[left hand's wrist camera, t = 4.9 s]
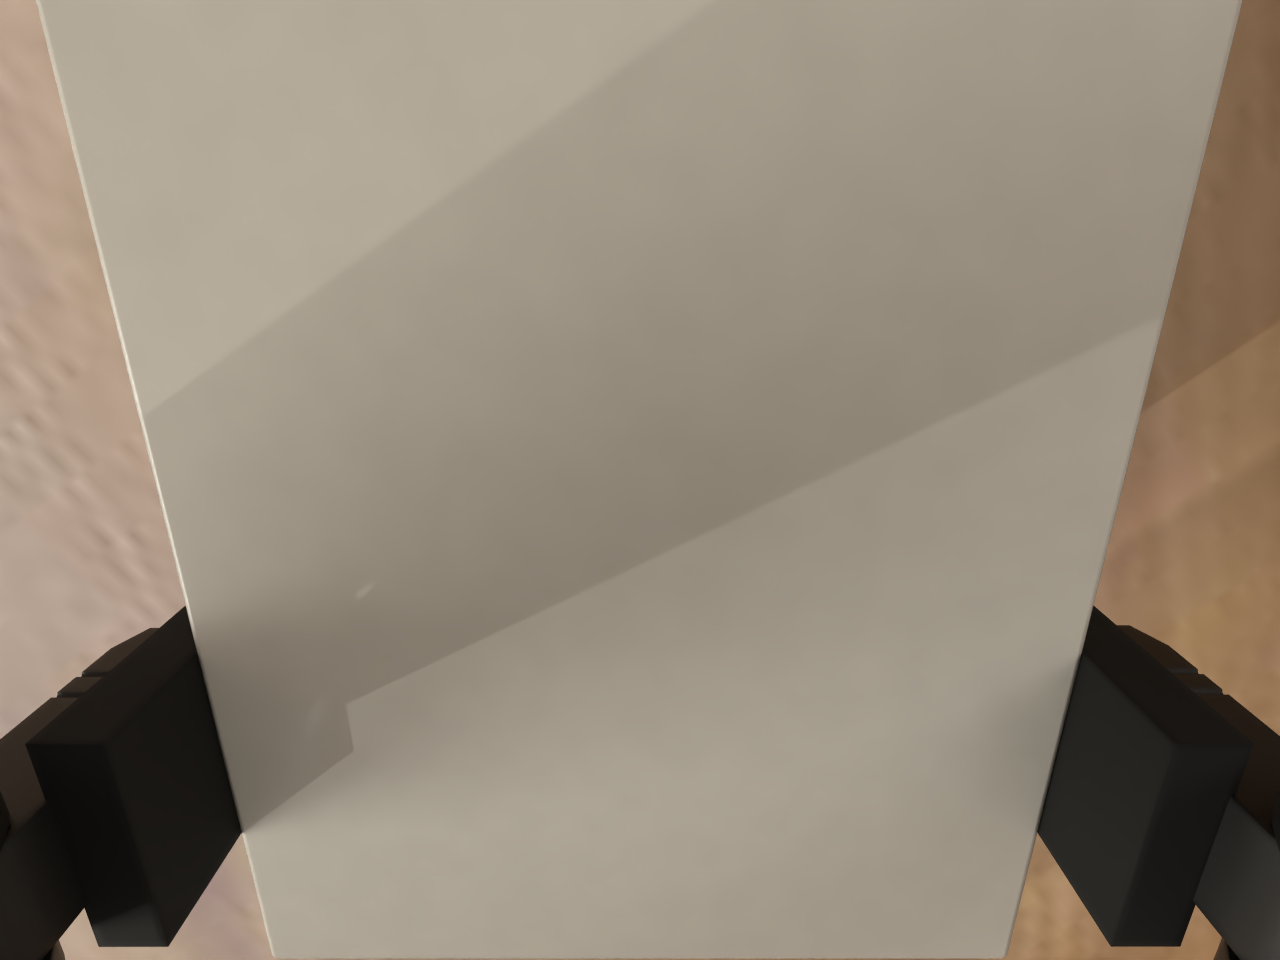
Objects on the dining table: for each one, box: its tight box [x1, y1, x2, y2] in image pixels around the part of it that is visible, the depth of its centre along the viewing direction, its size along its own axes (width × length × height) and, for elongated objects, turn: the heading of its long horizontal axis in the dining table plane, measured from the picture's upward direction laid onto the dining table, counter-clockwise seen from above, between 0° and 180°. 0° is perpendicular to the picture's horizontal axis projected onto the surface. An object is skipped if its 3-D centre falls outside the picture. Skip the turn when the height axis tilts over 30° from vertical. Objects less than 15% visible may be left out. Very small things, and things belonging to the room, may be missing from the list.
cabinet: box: [36, 0, 1243, 958], centre depth 11 cm, size 16×10×9 cm, turn 0°
